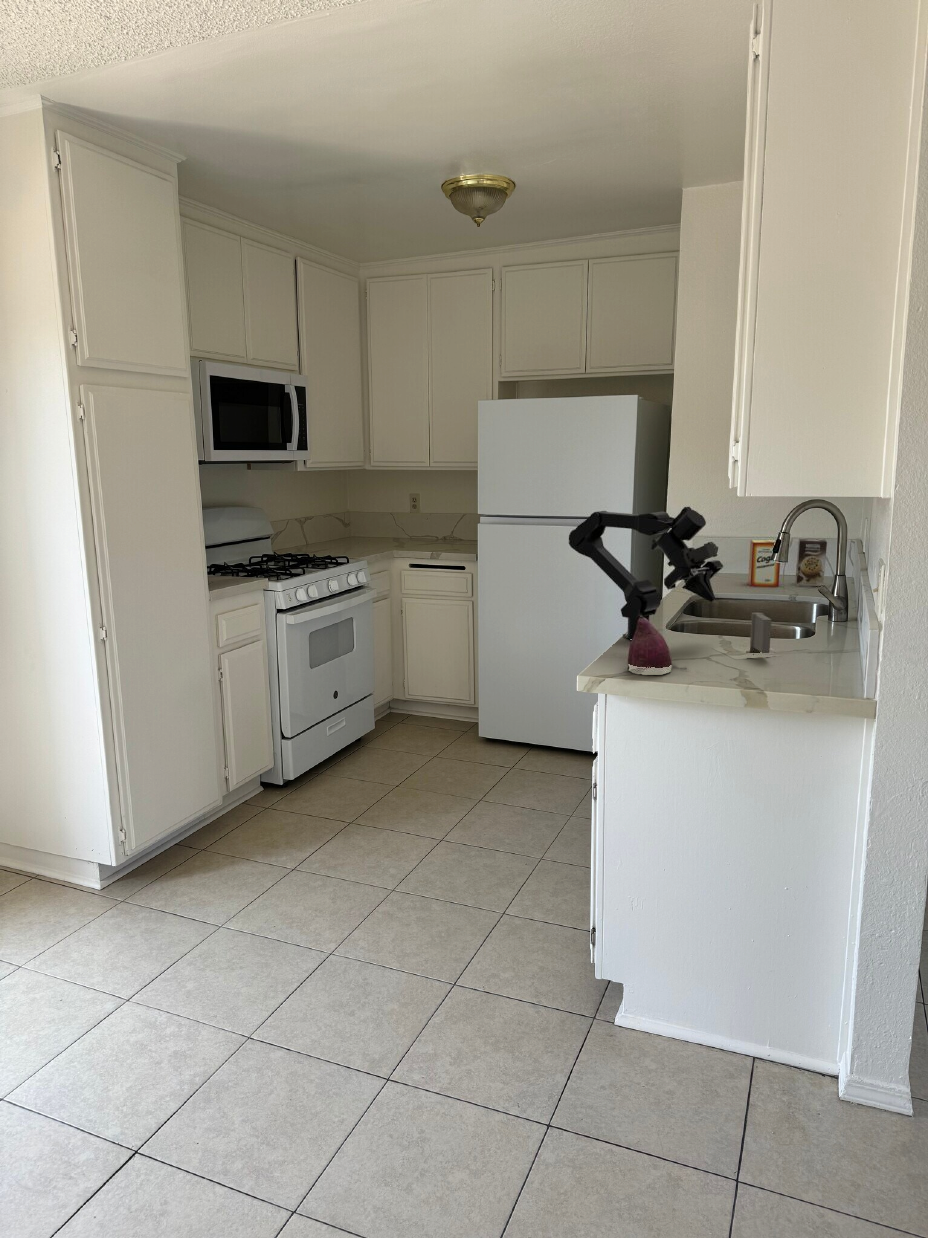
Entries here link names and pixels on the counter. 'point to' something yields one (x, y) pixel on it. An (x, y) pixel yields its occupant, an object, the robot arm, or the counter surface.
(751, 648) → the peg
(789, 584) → the counter surface
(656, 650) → the vegetable
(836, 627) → the counter surface
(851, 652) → the counter surface
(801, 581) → the cookie box
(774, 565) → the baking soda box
